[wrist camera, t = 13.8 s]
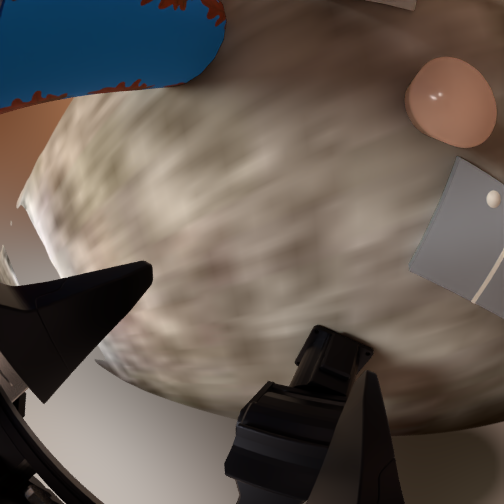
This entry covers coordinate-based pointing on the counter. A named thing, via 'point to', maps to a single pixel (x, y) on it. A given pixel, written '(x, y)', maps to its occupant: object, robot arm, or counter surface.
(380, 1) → the skincare box
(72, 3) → the thermos
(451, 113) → the glossy pink ovoid
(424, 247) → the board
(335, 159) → the counter surface
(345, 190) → the counter surface
